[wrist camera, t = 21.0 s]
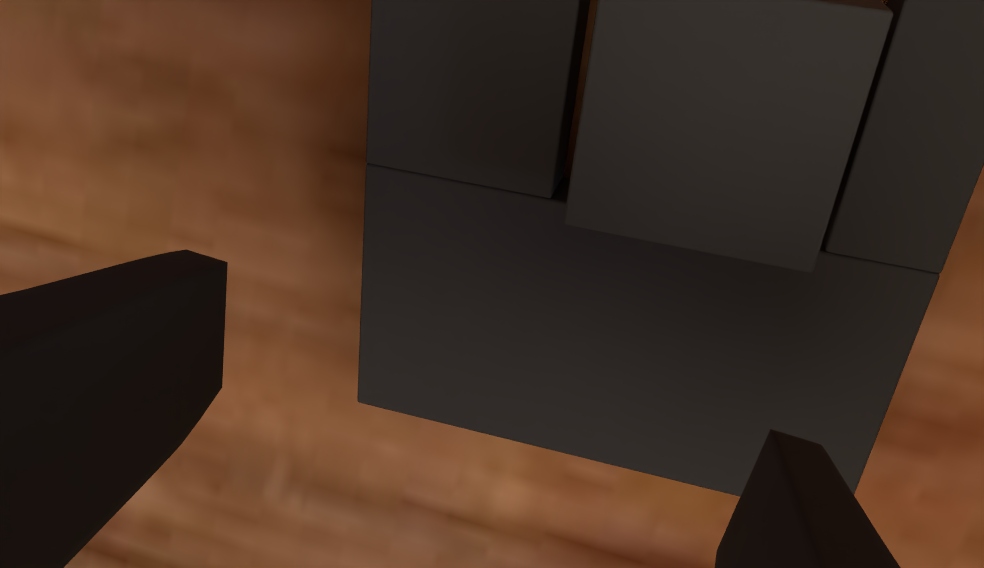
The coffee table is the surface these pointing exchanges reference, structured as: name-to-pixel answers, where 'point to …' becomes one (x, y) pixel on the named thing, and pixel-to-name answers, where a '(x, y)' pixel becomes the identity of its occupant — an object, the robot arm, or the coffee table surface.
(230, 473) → the coffee table surface
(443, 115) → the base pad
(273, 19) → the coffee table surface
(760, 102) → the black cube
